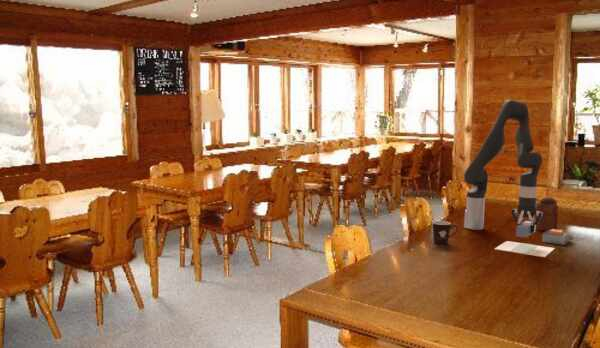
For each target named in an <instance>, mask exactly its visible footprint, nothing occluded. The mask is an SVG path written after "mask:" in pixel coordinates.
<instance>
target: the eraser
mask: <svg viewBox="0 0 600 348" xmlns="http://www.w3.org/2000/svg"><path fill="white" fill-rule="evenodd" d="M515 229H516V230H515V231H516V232H515V234H516V235H515V236H516V237H519V238H528V237H530V236H531V235H532V234H534V233H536V225H535V231H534V232H533V233H530V231H531V222H530V220H525V221H522V224H520V225H518V224H517V226H516V228H515Z"/></svg>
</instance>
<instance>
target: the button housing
mask: <svg viewBox="0 0 600 348" xmlns="http://www.w3.org/2000/svg"><path fill="white" fill-rule="evenodd" d="M570 234H571V233H570V232H566V231H565V232H564V231H563V234H562V235H555V234H550V230H547V231H544V232H543V233H542V239H541V240H542V241H541V242H543V243H549V244H555V245H562V246H565V245H566V244H567V243H569V241H570Z"/></svg>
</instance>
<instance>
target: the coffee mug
mask: <svg viewBox="0 0 600 348" xmlns="http://www.w3.org/2000/svg"><path fill="white" fill-rule="evenodd" d="M431 224H432V233H433V235H432V237H433V243H434V244H435V245H439V246H440V245H442V246H443V245H448V244H449V239H450V238H452V237H453V236H454V235H455V234H457V233H458V231H459V227H458V225H454V224H453V225H451V222H449V221H447V220H446V221H445V220H444V221H443V220H436V221H435V220H433V221H432V222H431ZM453 227H455V228H456V231H455V232H453V233H452V234H450V230H451V229H452V228H453Z"/></svg>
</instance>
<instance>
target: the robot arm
mask: <svg viewBox="0 0 600 348" xmlns="http://www.w3.org/2000/svg"><path fill="white" fill-rule="evenodd" d="M508 120H510V121H511V120H513V121H516V122H518V124H519V127H518V129H517V130H516V132H515V136H514V137H515V139H514V140H515V145H516V147H517V156H516V157H517V158H516V164H517V165H518V167H519V168H522V169H530V170H529V171H527V172H523V173H521V174H520V176H519V178H520V179H519V190H518V206H517V208H512V209H511V210H510V211H511V215H512V219H513V222H514V223H517V226H518V225H520V224H522V223H523V220H524V218H527V219H529V220H528V221H530V222H531V231H530V233H532V234H534V233H535V232H536V230H535V225H537V224H539V222H540V220H541V217H542V215H543V212H539V211H537V209H536V203H537V194H538V192H537V191H538V190H537V183H538V182H537V181H538V176H539V172H540V168H541V166H542V163H543V157H542V154H541V153H539V152H533V150H534V148H535V146H534V141H533V138H532V136H531V131H530V130H531V129H530V115H529V108H528V105H527V104H526V103H524V102H522V101H519V100H514V99H513V100H512V99H507V100H506V101H505V102H504V103H503V105H502V106H501V108H500V111H499V112H498V116H497V118H496V120H495V122H494V124H493V125H492V128H491V129H490V131H489V132H488V134H487V137H485V140H484V141H483V143H482V144H481V147H480V149H479V151H478V152H477V154H476V155H475V157H474V159H473V160H472V161H471V163H470V164H469V165H468V167H467V168H466V170H465V172H464V174H463V175H464V177H463V179H464V181H465V183H466V184H468V185H470V186H471V185H472V187H471V188H470V189H469V190H467V192H466V206H465V207H466V209H465V210H464V222H463V223H464V224H463V225H464V227H463V229H464V228H465V229H469V230H476V231H478V230H479V231H481V230H484V223H485V203H486V202H485V201H486V198H485V197H486V193H487V190H488V182H489V181H488V180H489V178H488V177H489V176H488V171H487V169H486V168H485V166H486V165H487V164H488V163H490V162H491V161H492V160H494V159H495V158H496V157H497V156H498V155H499V153H501V151H502V148H503V147H504V146H505V143H506V135H505V126H506V123H507V122H508ZM517 213H518V214H519V217H518V215H517ZM535 213H537V216H538V217H537V220H536V222H535ZM534 231H535V232H534ZM533 232H534V233H533Z"/></svg>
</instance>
